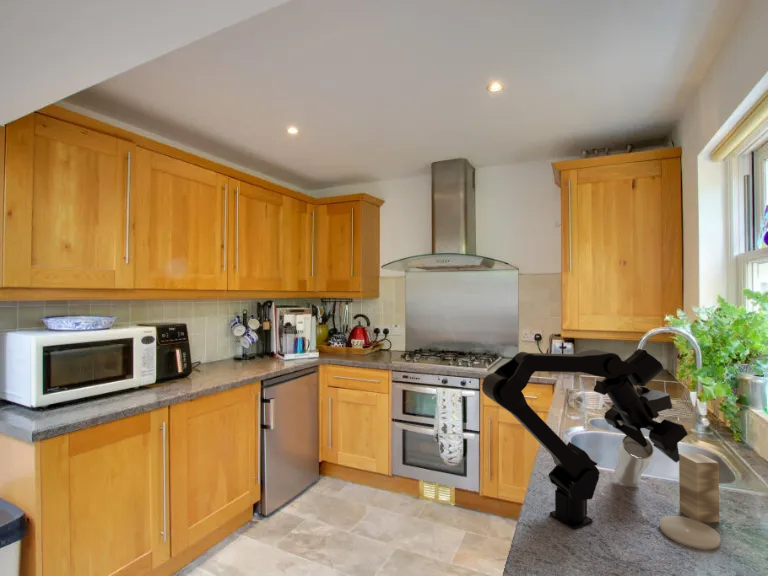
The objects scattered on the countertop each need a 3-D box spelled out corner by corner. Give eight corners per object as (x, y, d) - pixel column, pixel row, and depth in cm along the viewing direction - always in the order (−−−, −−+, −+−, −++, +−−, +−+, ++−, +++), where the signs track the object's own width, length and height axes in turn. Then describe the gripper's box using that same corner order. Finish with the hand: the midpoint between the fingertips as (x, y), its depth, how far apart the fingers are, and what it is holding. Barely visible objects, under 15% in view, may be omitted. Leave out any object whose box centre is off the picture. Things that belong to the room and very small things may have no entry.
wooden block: (697, 522, 89) (696, 462, 89) (679, 510, 94) (679, 453, 94) (719, 522, 89) (718, 462, 89) (700, 510, 94) (699, 453, 94)
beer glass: (633, 460, 110) (643, 430, 101) (648, 485, 105) (661, 456, 95) (607, 465, 111) (615, 435, 101) (621, 490, 105) (631, 462, 96)
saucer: (703, 555, 77) (703, 548, 78) (649, 528, 86) (649, 522, 86) (730, 541, 82) (730, 535, 82) (676, 516, 91) (676, 511, 91)
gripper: (686, 386, 84) (725, 446, 85) (622, 370, 103) (654, 420, 104) (647, 418, 83) (686, 479, 84) (589, 396, 101) (622, 446, 102)
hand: (660, 453), depth 93 cm, fingers open, 9 cm apart
